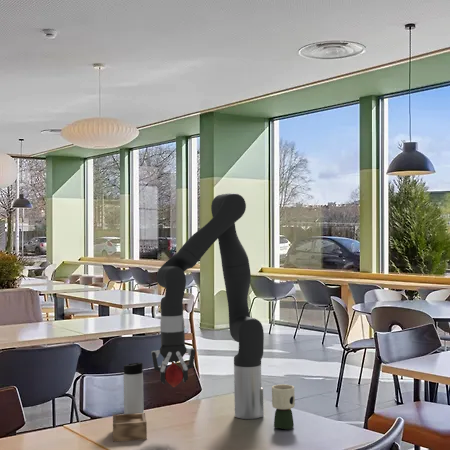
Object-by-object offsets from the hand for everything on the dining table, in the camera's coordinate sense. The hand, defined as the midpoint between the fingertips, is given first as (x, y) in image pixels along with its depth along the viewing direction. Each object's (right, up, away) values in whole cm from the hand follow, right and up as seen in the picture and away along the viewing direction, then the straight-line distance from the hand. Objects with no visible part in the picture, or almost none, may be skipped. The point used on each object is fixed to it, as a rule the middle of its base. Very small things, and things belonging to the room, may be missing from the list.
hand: (174, 382), depth 204 cm
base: (-13, -15, -5) cm, 21 cm away
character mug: (+35, -15, 0) cm, 38 cm away
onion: (0, -2, 0) cm, 2 cm away
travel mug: (-14, -15, +7) cm, 22 cm away
